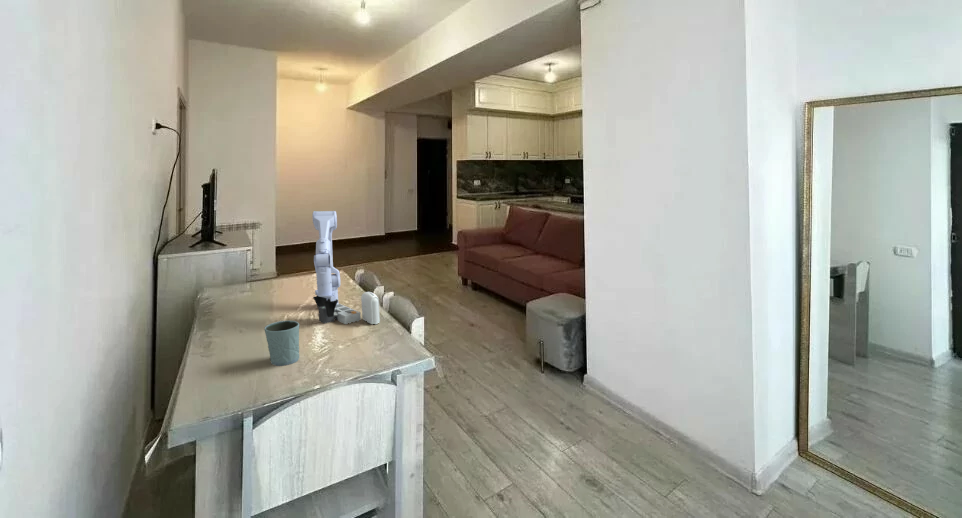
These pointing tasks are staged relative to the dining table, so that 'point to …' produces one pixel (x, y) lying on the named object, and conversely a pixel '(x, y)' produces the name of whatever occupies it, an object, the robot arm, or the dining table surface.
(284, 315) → the dining table surface
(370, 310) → the photo printer
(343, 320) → the power strip
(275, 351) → the grey-green cup
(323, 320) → the charger
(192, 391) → the dining table surface
